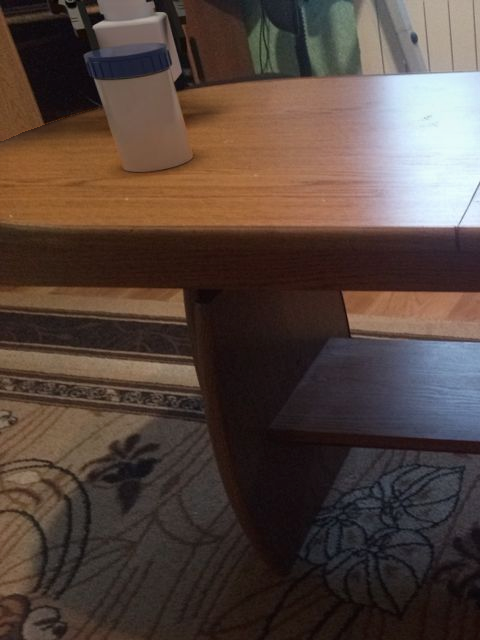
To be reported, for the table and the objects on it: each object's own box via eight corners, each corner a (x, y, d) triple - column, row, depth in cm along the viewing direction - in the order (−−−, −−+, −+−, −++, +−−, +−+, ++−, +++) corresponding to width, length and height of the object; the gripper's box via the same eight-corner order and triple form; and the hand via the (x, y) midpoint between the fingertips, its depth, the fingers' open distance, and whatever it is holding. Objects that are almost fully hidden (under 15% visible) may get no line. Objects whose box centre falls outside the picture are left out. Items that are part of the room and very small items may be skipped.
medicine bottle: (124, 79, 92) (92, -28, 85) (182, 73, 93) (155, -34, 86) (111, 91, 86) (75, -23, 79) (174, 84, 87) (143, -29, 80)
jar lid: (72, 79, 70) (65, 58, 69) (120, 63, 77) (114, 44, 76) (144, 77, 69) (138, 56, 68) (187, 61, 75) (182, 41, 74)
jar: (107, 172, 75) (71, 63, 70) (147, 151, 81) (117, 49, 76) (170, 172, 74) (138, 61, 68) (205, 150, 80) (179, 47, 74)
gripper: (180, -87, 96) (235, 58, 92) (-3, -73, 88) (48, 86, 84) (175, -139, 89) (234, 16, 85) (-24, -128, 81) (31, 42, 77)
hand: (141, 51), depth 85 cm, fingers closed on medicine bottle, 9 cm apart
